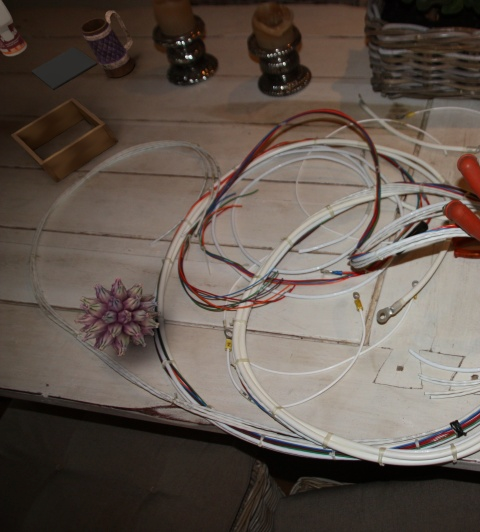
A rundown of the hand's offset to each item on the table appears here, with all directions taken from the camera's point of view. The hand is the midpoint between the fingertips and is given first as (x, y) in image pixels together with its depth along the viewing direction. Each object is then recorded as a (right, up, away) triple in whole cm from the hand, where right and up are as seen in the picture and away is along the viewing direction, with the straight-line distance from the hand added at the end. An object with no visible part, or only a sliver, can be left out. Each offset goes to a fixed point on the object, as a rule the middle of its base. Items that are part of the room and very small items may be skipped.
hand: (3, 33), depth 105 cm
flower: (+35, -56, -17) cm, 68 cm away
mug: (+10, +4, +27) cm, 29 cm away
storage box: (+7, -20, +11) cm, 24 cm away
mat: (-6, +4, +29) cm, 30 cm away
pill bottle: (0, -2, +3) cm, 4 cm away
